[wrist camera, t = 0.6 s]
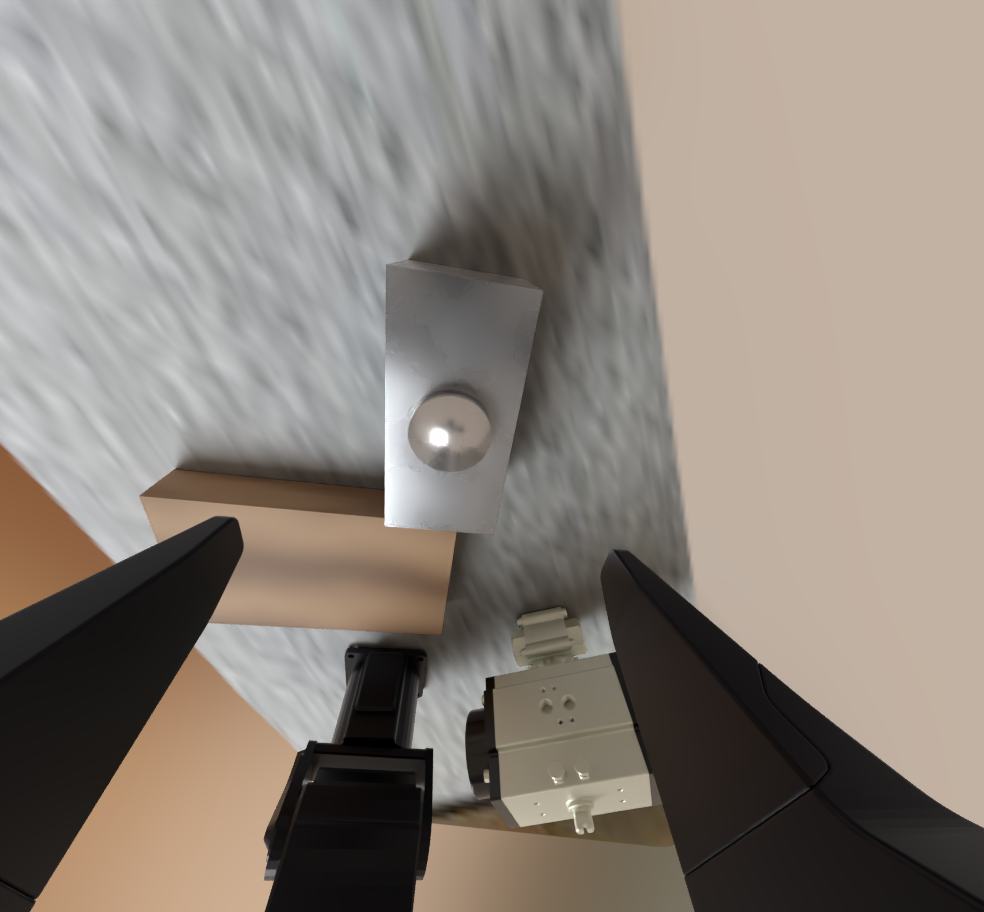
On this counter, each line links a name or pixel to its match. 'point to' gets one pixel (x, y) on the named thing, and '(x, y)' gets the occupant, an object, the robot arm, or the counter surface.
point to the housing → (452, 392)
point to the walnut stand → (312, 553)
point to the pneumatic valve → (558, 732)
